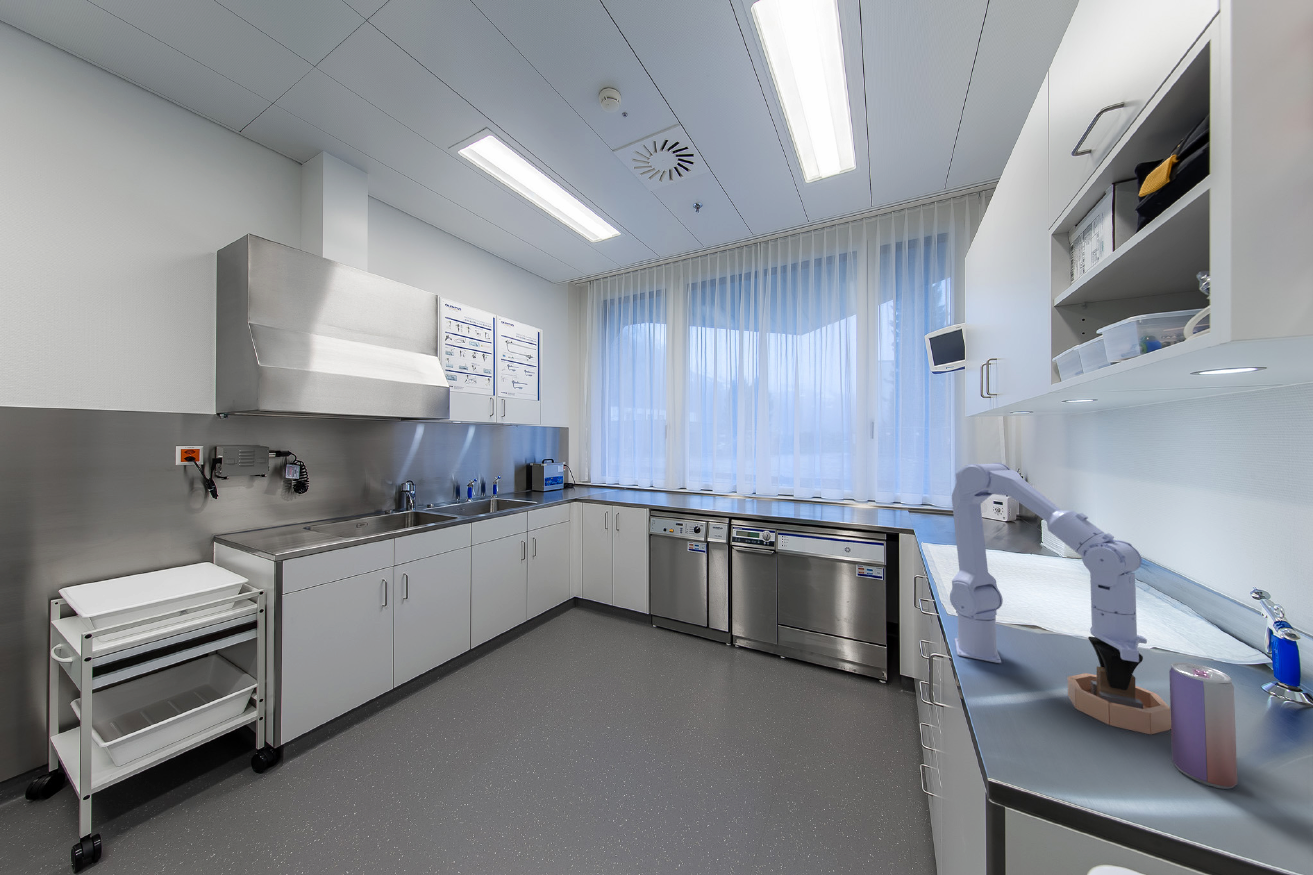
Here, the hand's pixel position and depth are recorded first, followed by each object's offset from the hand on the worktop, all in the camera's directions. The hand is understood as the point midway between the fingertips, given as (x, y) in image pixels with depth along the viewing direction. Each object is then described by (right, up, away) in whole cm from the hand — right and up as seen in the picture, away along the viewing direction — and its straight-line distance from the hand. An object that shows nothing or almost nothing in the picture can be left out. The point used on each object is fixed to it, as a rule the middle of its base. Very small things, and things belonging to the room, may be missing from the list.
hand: (1115, 684), depth 80 cm
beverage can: (-3, -5, -16) cm, 17 cm away
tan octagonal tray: (0, -5, 0) cm, 5 cm away
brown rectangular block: (0, -4, 0) cm, 4 cm away
